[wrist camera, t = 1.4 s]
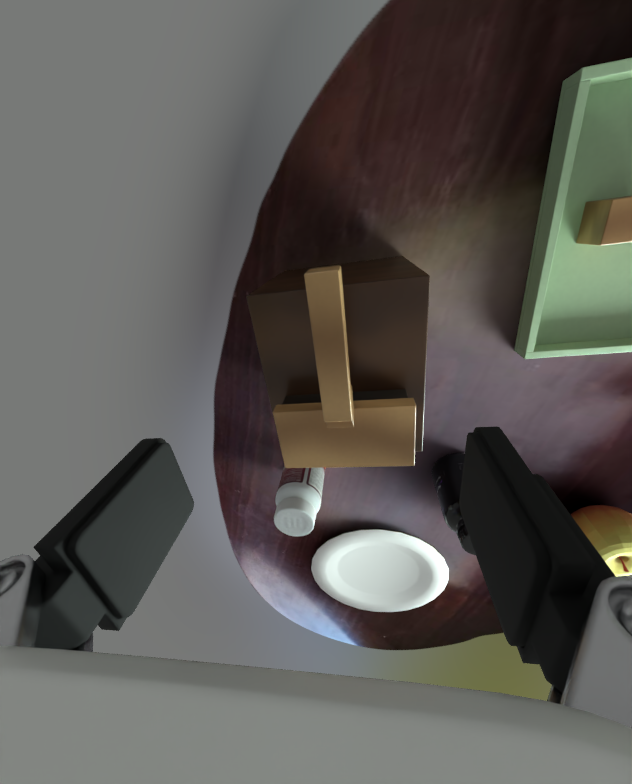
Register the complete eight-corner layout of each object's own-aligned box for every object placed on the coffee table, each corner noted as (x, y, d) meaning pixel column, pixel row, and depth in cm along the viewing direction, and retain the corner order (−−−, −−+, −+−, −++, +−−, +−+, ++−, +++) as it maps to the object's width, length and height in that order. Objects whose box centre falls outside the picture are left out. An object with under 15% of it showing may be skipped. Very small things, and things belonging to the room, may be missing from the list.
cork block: (585, 201, 29) (612, 199, 25) (629, 195, 28) (662, 192, 25) (575, 243, 30) (599, 245, 27) (616, 238, 30) (646, 240, 27)
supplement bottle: (420, 466, 46) (439, 538, 36) (462, 443, 43) (496, 513, 33) (447, 493, 48) (472, 568, 37) (488, 472, 45) (528, 547, 35)
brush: (408, 441, 27) (422, 497, 22) (292, 444, 29) (276, 497, 23) (411, 248, 20) (432, 258, 15) (256, 268, 22) (221, 283, 16)
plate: (471, 542, 52) (474, 551, 51) (417, 615, 65) (419, 624, 63) (327, 507, 53) (326, 516, 51) (301, 587, 65) (300, 595, 63)
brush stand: (284, 270, 35) (245, 296, 23) (402, 255, 33) (429, 275, 21) (303, 387, 42) (281, 455, 30) (402, 381, 40) (422, 451, 28)
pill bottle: (282, 468, 50) (263, 530, 40) (293, 440, 47) (276, 499, 37) (318, 481, 50) (308, 545, 40) (332, 454, 47) (325, 516, 37)
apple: (566, 546, 50) (600, 598, 43) (541, 510, 47) (573, 560, 40) (636, 524, 47) (686, 577, 40) (613, 484, 44) (662, 534, 37)
